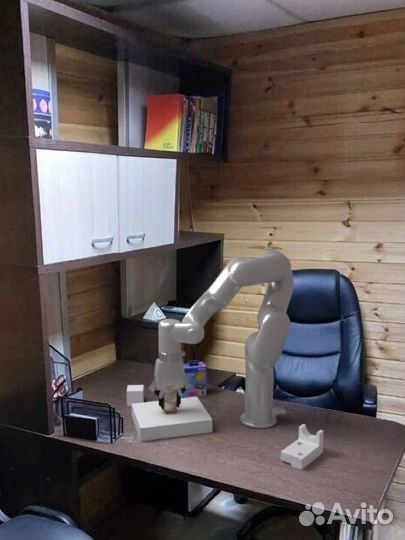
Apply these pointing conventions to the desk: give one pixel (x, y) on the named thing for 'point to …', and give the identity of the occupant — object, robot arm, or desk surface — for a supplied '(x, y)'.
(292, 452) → the bracket
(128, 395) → the white cube
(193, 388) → the ink cartridge box
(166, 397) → the beech leg
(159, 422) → the socket block
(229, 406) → the desk surface
